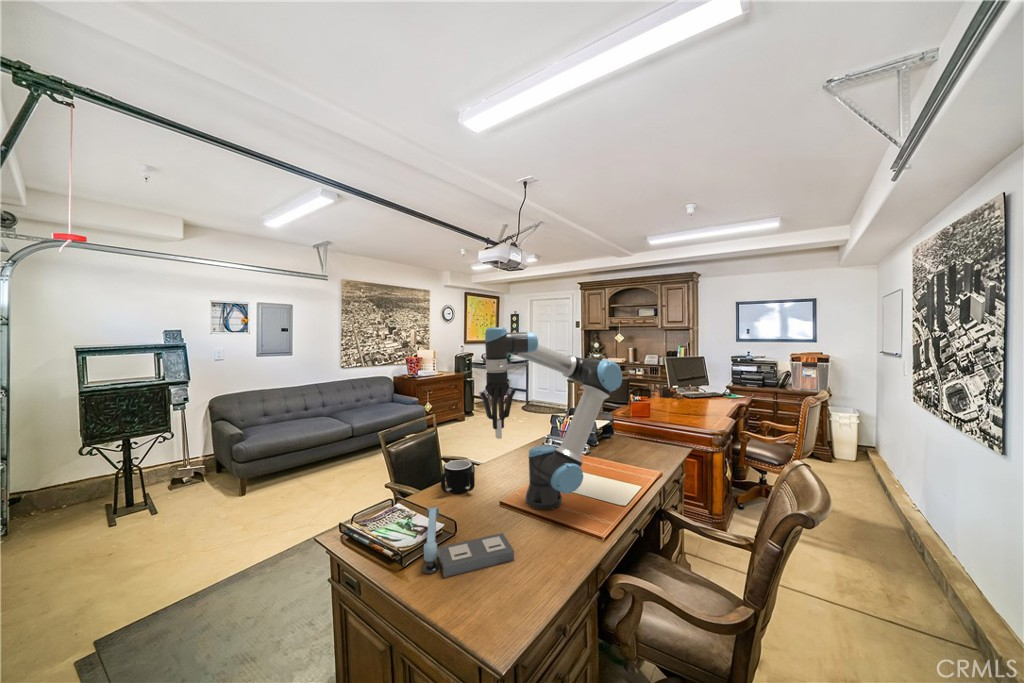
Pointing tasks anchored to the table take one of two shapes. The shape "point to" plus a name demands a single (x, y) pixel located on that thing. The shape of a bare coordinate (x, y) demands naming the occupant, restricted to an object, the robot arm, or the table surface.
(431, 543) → the hole punch handle
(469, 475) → the black pot
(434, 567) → the black short cylinder
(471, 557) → the block
